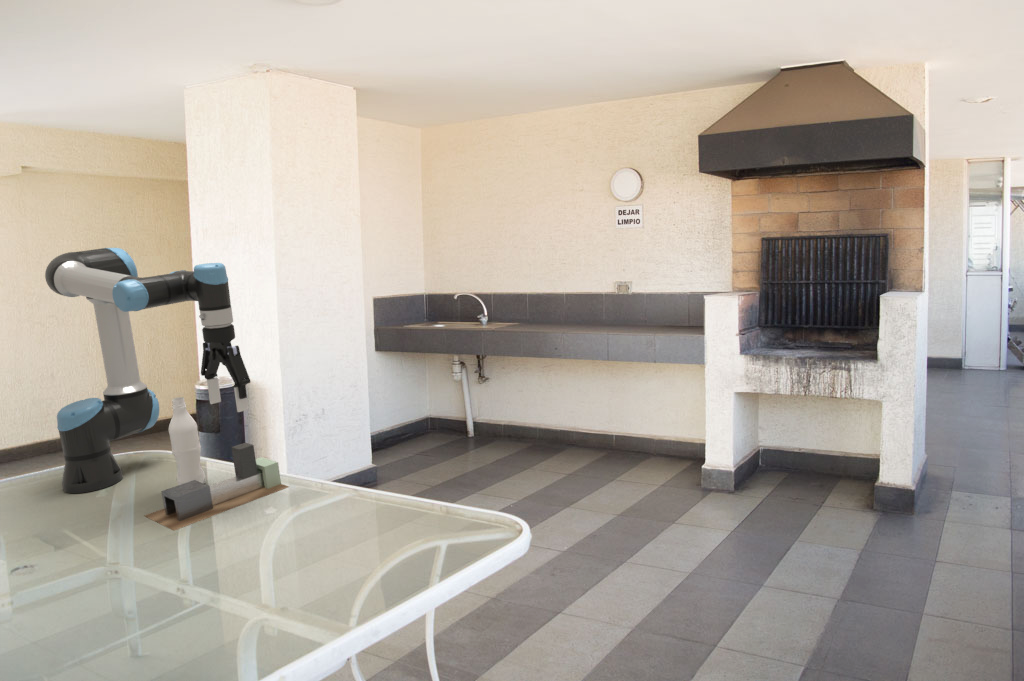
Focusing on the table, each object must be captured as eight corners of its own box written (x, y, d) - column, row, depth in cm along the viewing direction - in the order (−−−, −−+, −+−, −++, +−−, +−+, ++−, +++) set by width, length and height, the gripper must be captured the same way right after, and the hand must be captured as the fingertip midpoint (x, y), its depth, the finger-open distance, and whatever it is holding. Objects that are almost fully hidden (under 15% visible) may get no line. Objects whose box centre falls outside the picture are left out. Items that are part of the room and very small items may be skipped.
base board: (144, 519, 197) (143, 515, 197) (257, 478, 219) (256, 475, 219) (174, 534, 186) (173, 530, 186) (290, 490, 209) (289, 486, 208)
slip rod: (192, 507, 200) (184, 461, 197) (267, 479, 215) (260, 437, 212) (199, 510, 197) (192, 464, 195) (275, 482, 212) (268, 439, 210)
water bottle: (198, 481, 221) (183, 393, 216) (212, 486, 217) (197, 396, 212) (173, 490, 216) (158, 400, 211) (187, 495, 211) (172, 403, 207)
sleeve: (165, 514, 197) (161, 491, 195) (198, 502, 203) (194, 479, 202) (179, 521, 191) (175, 497, 190) (213, 508, 198) (209, 485, 196)
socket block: (251, 483, 214) (248, 461, 212) (264, 478, 216) (261, 457, 215) (267, 488, 208) (264, 466, 207) (281, 483, 211) (278, 462, 210)
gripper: (179, 323, 207) (191, 403, 211) (229, 332, 190) (241, 418, 195) (207, 318, 212) (218, 396, 217) (257, 326, 196) (268, 410, 200)
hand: (229, 406), depth 206 cm, fingers open, 13 cm apart
